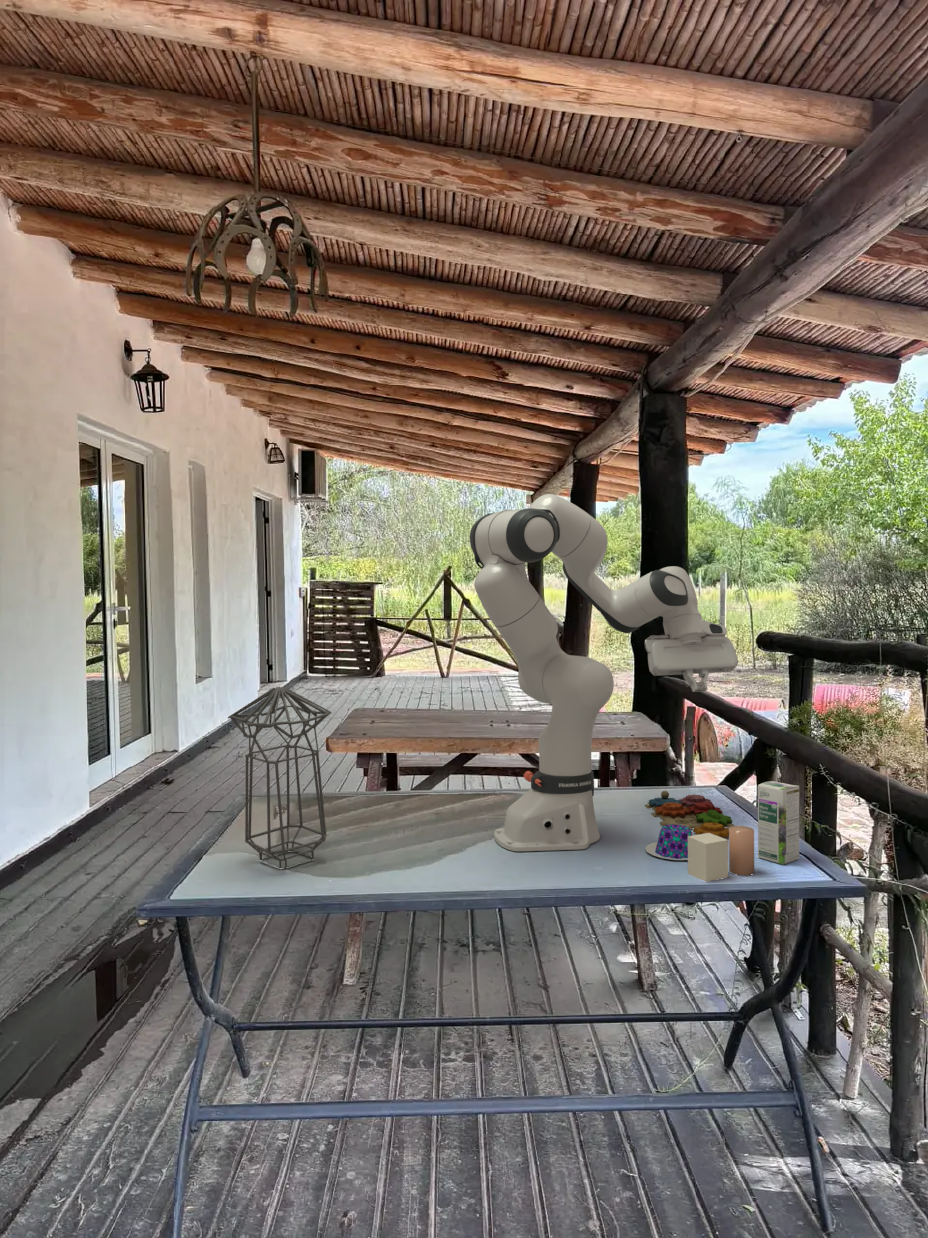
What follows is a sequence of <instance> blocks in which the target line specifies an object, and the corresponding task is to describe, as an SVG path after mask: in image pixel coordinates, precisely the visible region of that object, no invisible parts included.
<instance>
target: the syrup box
mask: <svg viewBox="0 0 928 1238" xmlns="http://www.w3.org/2000/svg"><path fill="white" fill-rule="evenodd" d="M757 828H758V829H757V858H758V857H759V858H758V859H760V858H762V859H761V860H766V861H769V862H773V863H776V864H779V865H781V866H782V865H784V866H785V865H787V864H790V863H792V862H794V861H796V860H799V859H800V785H794V784H789V783H783V782H778V781H774V780H773V781H772V780H771V781H765V782H762V783H760V784H758V785H757Z"/></svg>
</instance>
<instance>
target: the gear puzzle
mask: <svg viewBox="0 0 928 1238" xmlns="http://www.w3.org/2000/svg"><path fill="white" fill-rule="evenodd" d="M660 796H661V797H654V798H652V799H649V800H648V802H647V804H645V805H644V807H646V808H652V809H653V810H654V812H651V816H652V817H653V818H660V820H662V821H659V824H660V826H662V827H663V826H665V825H670V824H674V825H683V826H687V827H688V828H689V829H690V830H691V831H692V833H695V834H694V835H699V834H705V833H711V834H714V835H716V836H719V837H721V838H725V839H727V838H729V828H725V827H732V826H735V824H733V819H732V817H731V816H729V815H725V814H724V813H723V810H721V808H720V807H718V806H717V807H716V806H715V805H714V804H713V802H712V801H711V799H709V798H705V796H704V795H701V794H688V795H686V796H685V797H683V798H679V799H675V798H674V797H670V793H669V791H667V790H662V791H661V792H660ZM648 804H649V805H648ZM646 808H645V809H646ZM652 809H651V810H652ZM653 810H652V811H653ZM692 828H694V829H692Z"/></svg>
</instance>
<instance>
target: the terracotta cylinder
mask: <svg viewBox="0 0 928 1238" xmlns="http://www.w3.org/2000/svg"><path fill="white" fill-rule="evenodd" d="M729 871H730V872H732V873H734V874H737V875H736V876H739V875H751V874H753V873H754V874H755V829H754V828H753V827H750V826H746V825H734V826H732V827H729V836H728V872H729ZM730 872H729V873H730ZM732 873H731V874H732ZM734 874H733V875H734ZM754 874H753V875H754ZM751 876H752V875H751Z"/></svg>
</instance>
